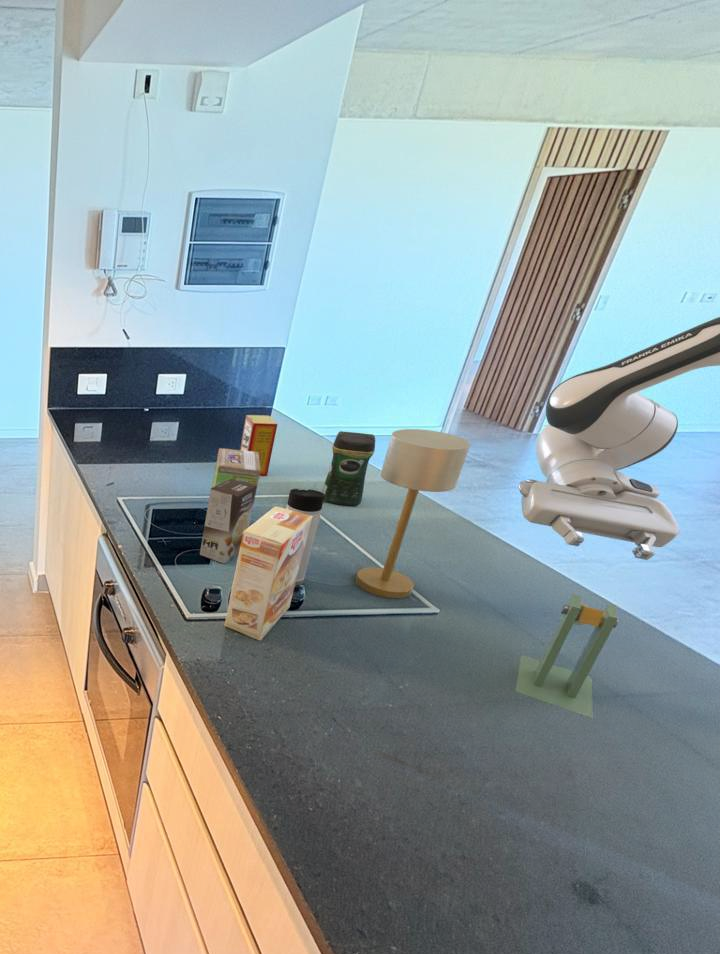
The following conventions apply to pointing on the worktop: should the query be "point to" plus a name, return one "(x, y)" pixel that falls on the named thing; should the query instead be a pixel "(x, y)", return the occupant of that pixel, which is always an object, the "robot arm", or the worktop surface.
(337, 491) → the coffee jar
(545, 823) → the worktop surface
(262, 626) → the coffeecake box
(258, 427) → the baking soda box
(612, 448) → the robot arm
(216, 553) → the coffee box
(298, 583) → the travel mug
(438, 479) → the table lamp
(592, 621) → the lever
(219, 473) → the tea box
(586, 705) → the green post frame stand
